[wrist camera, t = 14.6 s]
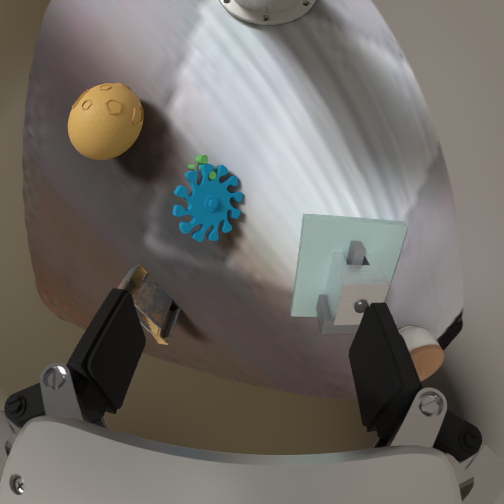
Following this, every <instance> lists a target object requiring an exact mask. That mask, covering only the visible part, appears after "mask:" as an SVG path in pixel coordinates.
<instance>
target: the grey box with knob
mask: <svg viewBox="0 0 504 504" xmlns="http://www.w3.org/2000/svg"><path fill="white" fill-rule="evenodd" d="M389 287H390V284H389V282H388V280H387V278H386V277H385V275H384V273H383V271H382V269H381V267H380V266H379V264H378V262H377V260H376V259H375V257H374V255H373V253H365V255H364V259H363V263H362V265H347V262H346V260H345V257H344V255H343V253H342V252H341V251H332V256H331V261H330V266H329V271H328V277H327V281H326V286H325V292H326V296H327V300H328V304H329V308H330V313H331V317H332V321H333V325H360V322H361V319H362V317H363V314H364V311H365V309H366V307H367V306H370V304H371V303H382V302H384V301H385V298H386V295H387V292H388V289H389Z"/></svg>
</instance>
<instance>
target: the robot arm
mask: <svg viewBox="0 0 504 504" xmlns="http://www.w3.org/2000/svg"><path fill="white" fill-rule="evenodd" d="M219 1H220V3H221V5H222V6H223V7H224V8H225V9H226V10H227V11H228V12H229V13H230V14H232V15H233V16H235V17H237V18H239V19H240V20H243V21H246V22H249V23H253V24H258V25H279V24H283V23H288V22H291V21H293V20H296V19H298V18H299V17H301V16H303V15H304V14H305V13H307V12H308V11H309V10H310V9H311V7H312V6H313V4H314V3H315V0H219ZM226 2H230V3H227V4H226ZM303 4H306V5H307V6H304V5H303ZM266 18H267V19H268V21H265V20H264V19H266ZM145 343H146V339H145V335H144V332H143V329H142V326H141V323H140V320H139V317H138V314H137V311H136V308H135V305H134V301H133V298H132V295H131V294H130V293H128V291H127V290H126V289H118V288H113V289H112V290H111V292H110V293H109V295H108V296H107V298H106V299H105V301H104V302H103V304H102V305H101V307H100V309H99V310H98V312H97V313H96V315H95V316H94V318H93V320H92V321H91V323H90V325H89V326H88V328H87V329H86V331H85V333H84V335H83V336H82V338H81V340H80V341H79V343H78V345H77V346H76V348H75V350H74V352H73V354H72V355H71V357H70V359H69V361H68V363H67V365H66V366H65V365H64V364H61V363H54V364H51V365H49V366H48V367H46V368H45V369H44V371H43V372H42V374H41V377H40V383H38V384H35V385H33V386H31V387H28V388H26V389H24V390H21V391H19V392H17V393H14V394H12V395H11V396H10V397H9V398H8V399H7V401H6V403H5V407H4V408H5V411H3V410H0V504H492V503H493V501H494V500H495V498H496V497H497V496H498V494H499V493H500V491H501V490H502V488H503V486H504V465H503V463H502V462H501V461H500V460H499V459H498V458H497V457H496V455H495V454H494V453H493V452H492V451H491V450H490V449H489V447H488V446H487V445H486V444H485V445H482V436H481V433H480V431H479V430H478V428H477V427H475V426H474V425H472V424H470V423H469V422H467V421H465V420H463V419H462V418H460V417H458V416H456V415H455V414H453V413H452V412H450V411H448V410H447V401H446V399H445V397H444V395H443V394H442V393H441V392H439V391H438V390H437V389H434V388H425V389H423V388H422V385H421V382H420V379H419V376H418V374H417V371H416V368H415V366H414V363H413V360H412V358H411V355H410V353H409V350H408V348H407V345H406V343H405V340H404V338H403V336H402V335H401V334H399V331H398V329H397V327H396V324H395V322H394V320H393V317H392V315H391V313H390V311H389V308H388V306H387V304H386V303H385V302H382V303H371V304H370V306H367V307H366V309H365V311H364V314H363V317H362V319H361V322H360V325H359V327H358V330H357V333H356V335H355V338H354V340H353V343H352V345H351V347H350V350H349V359H350V364H351V368H352V373H353V378H354V382H355V387H356V392H357V397H358V402H359V407H360V413H361V419H362V423H363V425H364V426H367V432H370V431H377V434H378V437H379V438H378V439H377V441H376V443H375V444H374V446H373V447H372V449H365V450H357V451H349V452H339V453H327V454H313V455H251V454H250V455H249V454H236V453H224V452H215V451H207V450H200V449H193V448H187V447H180V446H175V445H170V444H165V443H160V442H155V441H151V440H147V439H143V438H139V437H135V436H132V435H128V434H124V433H121V432H117V431H113V430H110V429H108V427H107V425H106V423H105V420H104V418H103V416H104V413H105V411H107V412H109V413H113V414H116V411H117V409H120V408H121V406H122V404H123V401H124V398H125V395H126V393H127V390H128V387H129V385H130V382H131V379H132V377H133V374H134V371H135V369H136V367H137V364H138V361H139V359H140V356H141V354H142V352H143V349H144V347H145Z"/></svg>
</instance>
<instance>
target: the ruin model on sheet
mask: <svg viewBox="0 0 504 504" xmlns="http://www.w3.org/2000/svg"><path fill="white" fill-rule="evenodd" d="M118 289H126V290H127V291H128V293H130V294H131V295H132V298H133V301H134V305H135V308H136V311H137V314H138V317H139V320H140V323H141V325H142V326H144V327H145V328H146V329H147V330H148V331H149V332H150V333H151V334H152V335H153V336H154V337H155V339H156V340H157V342H158V343H159V344H166V345H168V344H169V343H168V342H167V341H166V339H168V338H171V335H172V332H173V329H174V327H175V324H176V321H177V318H178V315H179V313H180V310H181V308H178V309H176V310H174V311H172V312H171V311H170V310H169V309H170V306H171V304H172V301H173V300H172V299H171V298H170V297H169V296H168V295H167V294H166V293H165V292H164V291H163V290H162V289H161V288H160V287H159V285H158V284H157V283H156V282H155V281H154V280H153V279H152V278H151V277H150V276H149V275H148V272H146V271H145V270H144V269H143V268H142V267H141V264H137V265H136V266H134V267H133V268H132V269H130V270H129V272H128V273H127V275H126V276H125V277H124V279H123V280H122V282H121V283H120V285H119V286H118ZM167 343H168V344H167Z"/></svg>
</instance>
